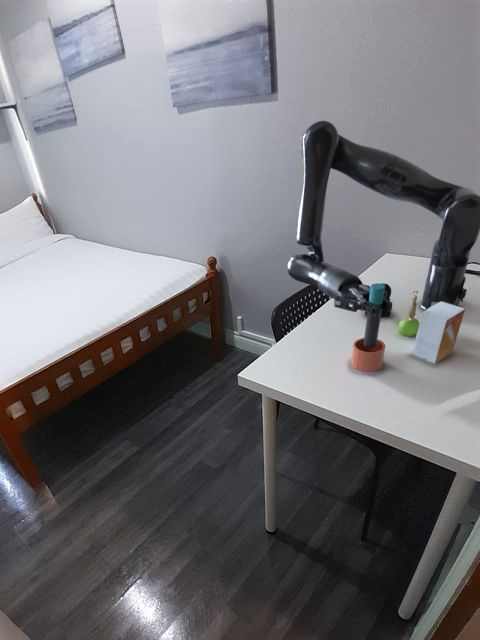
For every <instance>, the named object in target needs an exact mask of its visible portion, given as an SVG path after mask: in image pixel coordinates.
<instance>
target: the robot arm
mask: <svg viewBox="0 0 480 640" xmlns="http://www.w3.org/2000/svg"><path fill="white" fill-rule="evenodd" d="M299 152H300V155H301V157H302V158H303V169H304V170H303V171H304V172H303V185H302V191H301V198H300V203H299V209H298V215H297V223H296V233H295V234H296V235H295V242H296V244H297V245H298V246H303V247H306V248H307V253H297V254H294V255H292V256H290V257H289V259H288V261H287V263H286V271H287V274H288V275H289V276H290V277H291V279H293V280H294V281H297V282H300V283H304V284H307V285H311V286H314V288H316V289H318V290H320V291H321V292H322V293H323V294H325V295H326V296H328V297H329V298H331V299H333V300H334V301H333V303H334V305H333V307H334V308H336V309H337V308H338V309H340V310H344V311H349V312H353V313H357V312H358V310H359V311H361V312H365V311H366V312H367V313H369V314H371V315H373V316H376V315H378V312H379V307H378V306H376V305H374V304H372V303H370V302H369V297H370V289H371V285H368V284H364V283H363V282H362V280H361V279H360V278H359V276H357V275H356V274H353V273H351V272H349V271H347V270H345V269H343V268H340V267H337V266H335V265H332V264H331V263H328V262H325V255H324V249H323V242H322V233H323V225H324V219H325V207H326V197H327V190H328V184H329V178H330V173H331V170H335V171H337V172H339V173H342V174H344V175H345V176H347V177H349V178H350V179H352V180H353V181H355V182H356V183H358V184H360V185H361V186H364V187H365V188H367V189H369V190H371V191H372V192H375V193H377V194H379V195H382V196H384V197H386V198H388V199H391V200H394V201H398V202H405V203H410V204H414V205H416V206H420V207H422V208H423V209H425V210H427V211H429V212H431V213H432V214H434V215H435V216H437V217H439V218H440V219H441V221H442V225H441V229H440V233H439V238H438V239H437V240H435V241H434V243H433V248H432V252H431V257H430V262H429V267H428V269H427V276H426V280H425V284H424V289H423V294H422V297H421V302H420V308H421V309H422V310H423V311H425V310H427V309H429V308H430V307H432V306H434V305H435V304H437V303H439V302H445V303H448V304H451V305H455V306H458V307H459V304H460V302H463V301H464V299H465V298H466V294H467V292H468V289H467V288H464V286H465V283H466V279H467V278H466V276H465V274H466V271H467V267H468V263H469V259H470V256H471V251H472V249H473V247H474V246H475V244H477V243H476V242H477V240H478V238H479V234H480V194H479V193H477V192H476V191H474V190H473V189H471V188H468V187H465V186H462V185H458V184H455V183H451V182H448V181H445V180H442V179H440V178H438V177H435V176H434V175H432V174H431V173H429V172H428V171H426V170H425V169H423V168H421V167H420V166H418V165H417V164H414V163H412V162H411V161H409V160H407V159H405V158H404V157H401V156H399V155H396V154H394V153H391V152H388V151H386V150H382V149H380V148H375V147H370V146H366V145H362V144H359V143H356V142H354V141H352V140H350V139H348V138H346V137H344V136H342V135H341V134H339V132H338V129H337V127H336V126H335V125H334V124H333V123H332V122H330V121H328V120H318V121H315V122H313V123H312V124H310V125H309V126H308V127H307V128H306V129H305V130H304V131H303V133H302V135H301V136H300V140H299ZM386 298H387V291H386V290H385V291H384V297H383V304H382V309H384V310H385V311H387V312H389V311H391V312H392V309H393V302H392V301H391V300H390V301H389V300H387V299H386ZM350 305H351V306H350Z"/></svg>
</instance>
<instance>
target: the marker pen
mask: <svg viewBox="0 0 480 640" xmlns="http://www.w3.org/2000/svg"><path fill="white" fill-rule="evenodd" d="M384 284H385V283H384ZM384 284H381V283H380V282H379V283H378V282H377V283H372V284H371V285H370V287H371V289H370V297H369V302H370V303H372V304H374V305H376V306H378V307H379V312H378V315H376V316H373V315H371V314H369V313H367V316H366V322H365V329H364V331H365V332H364V337H363V338H364V346H365V347H366V348H375V347H376V345H377V339H378V337H379V331H380V325H381V319H382V318H381V311H382V304H383V297H384V291H385V285H384Z"/></svg>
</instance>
